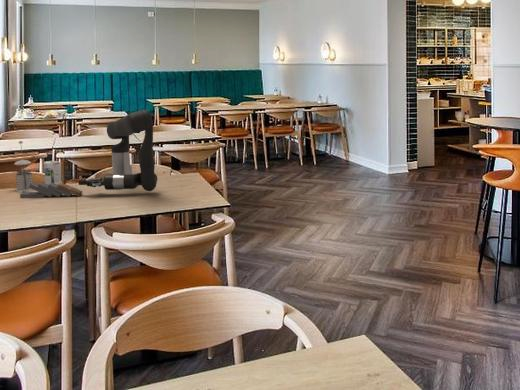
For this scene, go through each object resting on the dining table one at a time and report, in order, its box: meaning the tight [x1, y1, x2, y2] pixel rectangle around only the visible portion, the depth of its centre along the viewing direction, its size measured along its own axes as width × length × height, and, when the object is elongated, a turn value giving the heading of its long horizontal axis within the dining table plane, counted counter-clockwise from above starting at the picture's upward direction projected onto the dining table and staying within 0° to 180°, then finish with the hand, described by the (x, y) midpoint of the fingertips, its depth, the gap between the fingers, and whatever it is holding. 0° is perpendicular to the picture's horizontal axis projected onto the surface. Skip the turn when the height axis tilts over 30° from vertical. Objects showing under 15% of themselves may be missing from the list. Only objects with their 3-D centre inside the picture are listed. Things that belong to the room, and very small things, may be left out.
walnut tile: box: [57, 181, 83, 197], centre depth 271 cm, size 2×5×11 cm
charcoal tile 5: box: [19, 191, 47, 199], centre depth 270 cm, size 2×5×11 cm
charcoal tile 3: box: [38, 181, 63, 198], centre depth 270 cm, size 2×5×11 cm
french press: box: [13, 140, 34, 192], centre depth 284 cm, size 10×12×25 cm
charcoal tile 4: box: [29, 181, 54, 198], centre depth 270 cm, size 2×5×11 cm
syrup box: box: [43, 160, 62, 185], centre depth 285 cm, size 6×6×14 cm
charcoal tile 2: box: [48, 183, 73, 198], centre depth 270 cm, size 2×5×11 cm
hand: (78, 182), depth 270 cm, fingers closed
